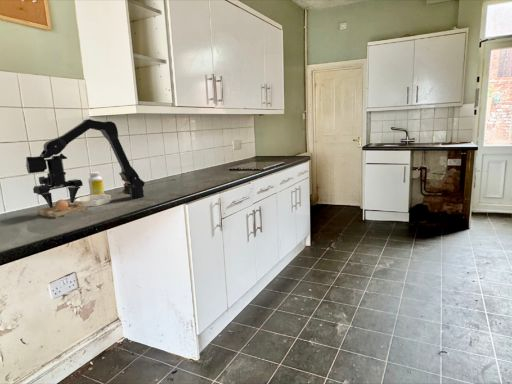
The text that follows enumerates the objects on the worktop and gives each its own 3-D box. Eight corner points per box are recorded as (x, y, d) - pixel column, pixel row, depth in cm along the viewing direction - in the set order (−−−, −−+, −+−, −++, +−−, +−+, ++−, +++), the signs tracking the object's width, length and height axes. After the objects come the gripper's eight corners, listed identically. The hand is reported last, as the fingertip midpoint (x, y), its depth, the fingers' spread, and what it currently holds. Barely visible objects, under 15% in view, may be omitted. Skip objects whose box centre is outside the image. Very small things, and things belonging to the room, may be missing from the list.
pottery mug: (118, 194, 192) (120, 180, 194) (133, 199, 198) (135, 185, 201) (130, 190, 184) (132, 176, 187) (146, 195, 191) (148, 181, 194)
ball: (71, 209, 156) (69, 198, 155) (60, 212, 151) (58, 201, 150) (65, 208, 158) (63, 198, 157) (54, 211, 154) (52, 200, 153)
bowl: (116, 201, 171) (116, 195, 171) (88, 209, 159) (87, 202, 158) (98, 199, 179) (97, 193, 179) (69, 206, 167) (68, 199, 166)
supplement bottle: (107, 195, 188) (103, 171, 185) (96, 198, 182) (92, 173, 180) (99, 194, 191) (95, 171, 189) (88, 197, 186) (84, 173, 183)
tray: (87, 210, 157) (86, 205, 156) (55, 218, 145) (54, 213, 145) (69, 207, 164) (69, 202, 164) (38, 214, 153) (37, 209, 153)
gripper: (67, 166, 163) (72, 199, 166) (23, 172, 148) (30, 208, 151) (80, 167, 157) (85, 201, 160) (37, 174, 142) (43, 211, 145)
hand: (62, 205), depth 154 cm, fingers open, 9 cm apart
